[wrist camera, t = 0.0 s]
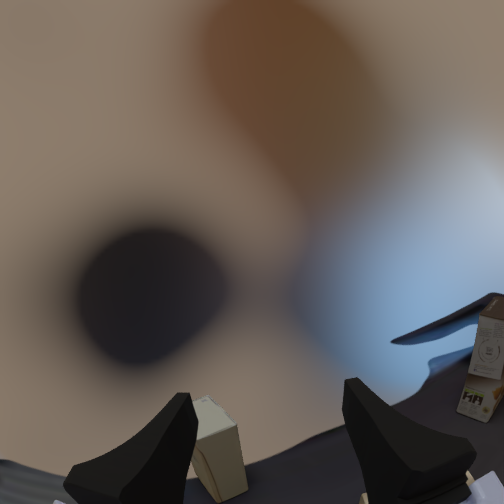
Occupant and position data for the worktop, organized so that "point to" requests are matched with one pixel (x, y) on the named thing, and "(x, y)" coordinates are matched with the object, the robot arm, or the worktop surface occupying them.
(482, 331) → the coffee box
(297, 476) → the worktop surface
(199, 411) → the skincare box
